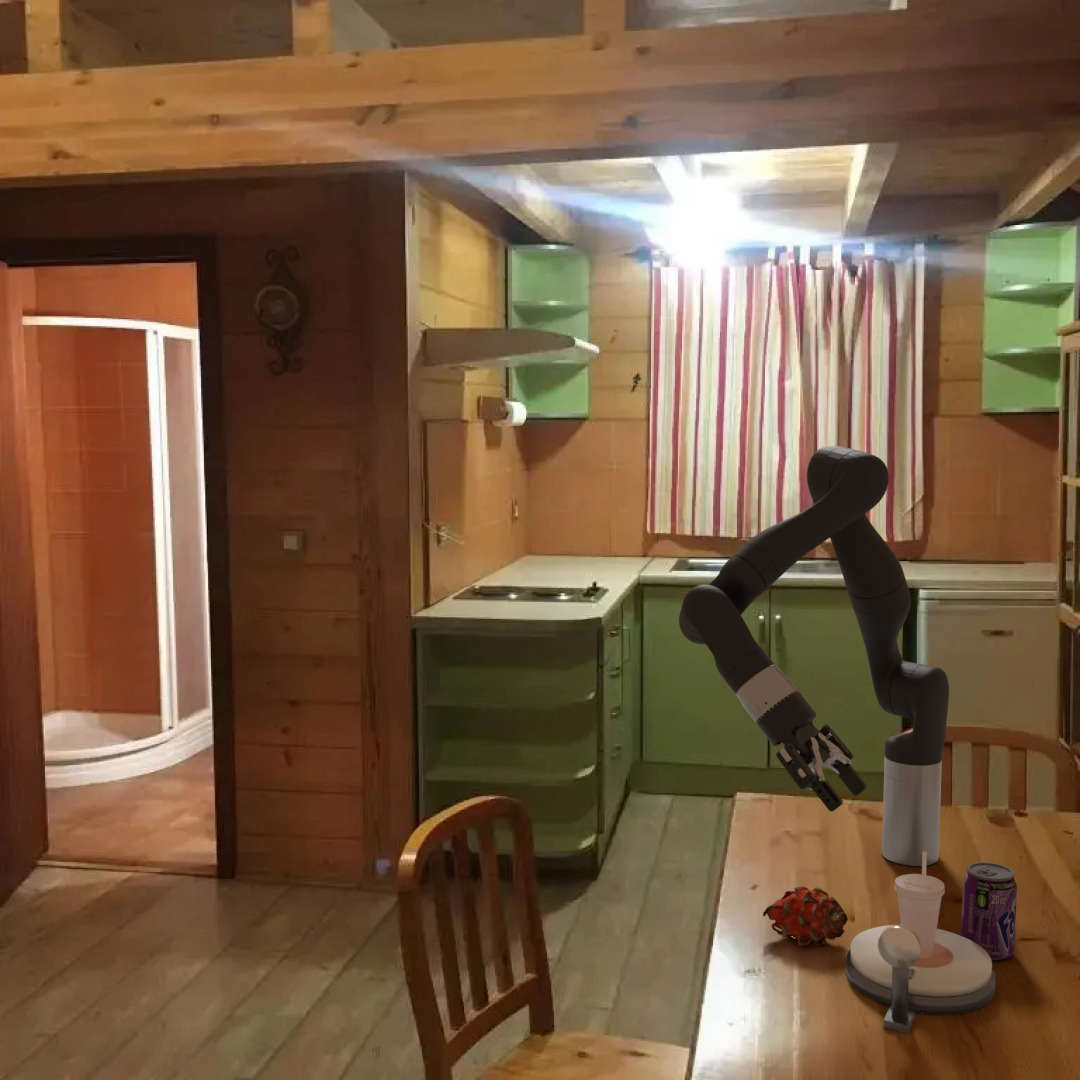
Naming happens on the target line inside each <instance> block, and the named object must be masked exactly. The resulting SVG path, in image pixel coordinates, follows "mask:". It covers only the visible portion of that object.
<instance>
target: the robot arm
mask: <svg viewBox="0 0 1080 1080" xmlns="http://www.w3.org/2000/svg"><path fill="white" fill-rule="evenodd" d="M806 480H807V481H806V482H807V486H808V491H809V494H810V495H811V499H812V500H813V504H812V505H811V506H810V507H808V508H805V510H803V511H801V512H799V513H797V514H795V515H793V516H791V517H788V518H787V519H784V520H782V521H780V522H778V523H776V524H773V525H771V526H769V527H768V528H764V530H762V531H760V532H759V533H757V534H756V535H754V536H753V537H752V538H750V539H749V540H748V541H747V542H746V543H745V544H744V545H743V546H741V547H740V548H739V549H738V550H737V551H736V552H735V553H734V554H733V555H732V556H731V557H730V558H729V559H727V561H726V562H725V563H724V564H723V566H722V567H721V569H720V571H719V573H718V574H717V576H716V577H715V578H714V579H713V580H712V581H711V582H710V583H709V584H699V585H698V584H697V586H694V587H692V588H691V589H690V590H688V591H687V593H686V594H685V595H684V598H683V600H682V603H681V608H680V612H679V615H678V616H679V618H678V624H679V629H680V632H681V633H682V635H683V636H684V637H685V639H687V640H688V641H690V642H692V643H694V644H696V645H697V644H698V645H706V647H707V648H708V650H709V651H710V652H711V654H712V656H713V657H714V662H715V667H716V669H717V671H718V673H719V674H720V676H721V677H722V679H723V680H724V681H725V683H726V684H727V685H728V686H729V688H730V689H731V690H732V691H733V693H735V695H736V697H737V698H738V699H739V701H740V703H741V705H742V706H743V708H744V709H745V711H746V712H747V714H748V715H749V716H750V718H751V719H752V720H753V721H754V722H755V724H756V725H757V727H758V728H759V729H760V731H761V732H762V733H763V735H765V737H766V738H767V740H768V741H769V742H770V744H771V745H772V746H774V747H780V746H782V745H784V746H783V747H782V748H781V749H779V750H778V751H777V752H776V753H775V754H776V758H777V759H778V761H779V762H780V764H782V766H783V767H784V768H785V770H786V771H787V773H788V775H789V776H790V778H792V779H793V781H794V782H795V784H796V785H797V786H798V788H799V789H801V790H805V789H808V790H810V791H813V792H814V793H815V794H816V796H817V797H818V798H819V799H820V801H821V802H822V803H823V805H824V807H826V808H827V809H828V811H829V812H834V811H835V810H836V811H837V809H838V808H840V807H841V806H842V805H843V804H844V801H843V798H841V797H840V796H839V794H838V793H837V791H836V790H835V789H834V787H833V785H831V784H830V782H829V781H828V780H826V778H825V775H824V772H823V768H824V769H825V768H829V769H830V770H832V771H833V772H835V773H836V774H838V775H837V776H838V777H839V779H840V780H841V781H842V782H843V784H844V785H845V786H846V788H847V789H848V790H849V791H850V793H851V794H852V795H853V796H855V797H856V796H859V795H860V794H862V792H864V791H865V790H866V789H867V784H866V783H865V781H864V780H863V779H862V778H861V776H859V774H858V773H857V771H856V770H855V768H854V767H853V766H852V759H854V754H853V753H852V751H851V750H850V749H849V748H848V747H847V745H846V744H845V743H844V742H843V741H842V740H841V738H840V737H839V736H838V735H837V734H836V732H835V731H834V729H832V728H831V726H830V725H829V724H827V723H826V724H824V725H823V726H821V727H820V728H819V729H818V728H817V727H816V726H815V725H814V724H813V721H815V720H816V718H817V713H816V711H815V709H813V708H812V706H811V705H810V704H809V702H808V701H807V700H806V699H805V697H804V696H803V695H802V693H801V692H800V691H799V690H798V688H797V687H796V686H795V685H794V683H793V682H792V681H791V680H790V679H789V677H788V676H787V675H786V674H785V673H784V672H783V671H782V670H781V669H780V668H779V667H778V666H777V665H776V664H775V662H774V661H773V660H772V659H771V657H769V655H768V653H766V651H765V650H764V648H763V647H761V645H760V644H759V642H757V641H756V640H755V638H754V637H753V634H752V632H751V630H750V629H749V626H748V625H747V623H746V622H745V619H744V618H743V616H742V614H743V613H745V611H746V610H747V609H748V608H749V606H750V605H751V604H752V603H753V602H754V601H755V600H756V599H757V598H759V597H760V596H761V595H762V594H763V593H765V592H766V591H767V590H768V589H769V588H770V587H771V586H773V584H774V583H776V581H778V579H779V578H780V577H782V575H784V574H785V573H786V572H787V571H788V570H789V569H791V567H792V566H794V565H795V564H797V562H799V560H801V559H803V558H804V557H805V556H806V555H807V554H808V553H810V552H811V551H813V550H814V549H816V548H818V547H819V546H820V545H821V544H823V543H825V542H826V541H827V540H829V539H830V542H831V545H832V547H833V550H834V554H835V557H836V559H837V563H838V565H839V568H840V571H841V573H842V577H843V580H844V584H845V588H846V591H847V594H848V598H849V600H850V604H851V606H852V609H853V611H854V614H855V617H856V619H857V623H858V627H859V629H860V633H861V634H860V635H861V636H862V637H861V638H862V640H863V644H864V647H865V650H866V655H867V660H868V665H869V670H870V675H871V680H872V685H873V689H874V694H875V697H876V699H877V702H878V704H879V706H880V708H881V709H882V710H883V711H884V712H886V713H887V714H890V715H894V716H897V717H901V718H902V717H903V718H907V719H912V720H913V727H912V731H911V732H907V733H901V734H896V735H892V736H890V737H888V738H887V739H886V741H885V743H884V760H883V762H884V768H883V772H884V773H883V798H882V799H883V802H882V803H883V804H882V805H883V807H882V838H881V839H882V841H881V842H882V843H881V848H882V849H881V855H882V857H883V858H885V859H886V860H888V861H890V862H893V863H894V864H895V863H896V864H898V865H905V866H913V867H918V866H919V867H922V851H927V864H926V866H929V865H933V864H936V863H937V862H938V861H939V857H940V856H939V855H940V854H939V853H940V851H939V850H940V833H941V832H940V831H941V830H940V829H941V799H942V798H941V797H942V767H943V766H942V765H943V750H944V746H945V741H946V735H947V734H946V733H947V719H948V712H949V700H950V684H949V679H948V676H947V673H946V672H945V670H944V669H942V668H941V667H937V666H935V665H929V664H923V663H922V664H921V663H917V662H911V661H906V660H905V659H903V657H902V654H901V653H900V650H899V649H900V648H899V645H898V636H899V633H900V632H901V630H902V628H903V625H904V624H905V622H906V619H907V617H908V615H909V612H910V609H911V599H912V597H911V593H910V589H909V586H908V583H907V580H906V576H905V572H904V569H903V567H902V564H901V562H900V560H899V558H898V557H897V556H896V554H895V553H894V551H893V550H892V548H891V547H890V546H889V544H888V543H887V542H886V541H885V540H884V539H883V537H882V536H881V534H880V533H879V532H878V531H877V530H876V528H875V527H874V525H873V524H872V523H871V521H870V519H869V518H868V515H867V513H868V512H870V511H872V509H874V507H876V506H877V505H878V504H879V503H880V501H882V499H883V498H884V496H885V494H886V492H887V490H888V486H889V480H890V475H889V470H888V466H887V464H886V463H885V462H884V461H883V460H882V459H881V458H880V457H878V456H876V455H875V454H871V453H868V452H866V451H861V450H857V449H854V448H849V447H844V446H839V445H827V446H822V447H821V448H819V449H817V450H816V451H815V452H814V453H813V454H812V456H811V458H810V460H809V462H808V465H807V472H806ZM802 777H803V778H802Z"/></svg>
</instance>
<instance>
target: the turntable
mask: <svg viewBox="0 0 1080 1080" xmlns="http://www.w3.org/2000/svg"><path fill="white" fill-rule="evenodd" d="M894 925H895V924H888V925H881V926H875V927H872V928H869V929H868V928H867V929H866V930H864V931H861V932H860V933H858V934H857V935H855V936H854V937H853V939H852V940H851V942H850V949H851V951H850V959H851V962H852V964H853V966H854V967H855V969H856V970H857V971H858V972H859V973H860V974H862V975H863V976H865V977H866V978H868V979H869V980H871V981H873V982H875V983H877V984H879V985H882V986H885V987H887V988H890V989H892V966H891V965H890V964H888V963H887V962H886V961H885V960H884V959H883V958H882V957H881V955H880V953H879V950H878V940H879V937H880V935H881V934H882V932H883V931H884V930H885V929H886V928H888V927H890V926H894ZM899 925H900V926H901V924H899ZM992 968H993V960H991V958H990V956H989V954H988V953H987V952H986V951H985V950H984V949H983V948H982V947H981V946H979V945H978V944H976V943H974V942H973V941H971V940H969V939H967V938H965V937H962V936H961V934H960V935H959V934H957V933H954V932H951V931H948V930H944V929H940V928H937V930H936V937H935V943H934V949H933V955H932V956H931V957H929V958H924V959H920V958H918V960H917V962H916V963H915V964H914V965H912V966H911V967H909V991H908V993H910V994H915V995H923V996H942V997H945V996H957V995H964V994H968V993H972V992H975V991H977V990H979V989H981V988H983V987H984V986H986V985H987V984H988V983H989V981H990V979H991V975H992Z"/></svg>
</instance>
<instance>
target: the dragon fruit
mask: <svg viewBox="0 0 1080 1080" xmlns="http://www.w3.org/2000/svg"><path fill="white" fill-rule="evenodd" d="M766 915H767V916H768V919H769V920H770V921H775V922H773V923H771V924H770V927H771V928H772V929H771V930H773V931H774V932H775V933H777V935H779V936H783V937H784V936H789V937H790V936H793V937H795V938H796V939H795V940H797V944H798V946H799V947H801V946H802V947H804V946H809V945H810V943H811V942H813V943H814V944H815V946H821V945H825V944H827V943H826V942H827V940H830V941H833V940H836V938H841V937H842V936H843V935H844V933H845V932H846V931H845V930H844V926H845V925H846V924H847V922H848V920H849V918H848V916H847V913H845V910H844V909H843V908H842V905H841V904H840V903H839V901H837V899H836V898H835V897H833V896H829V893H827V892H826V891H825V890H823V889H822V888H821V887H814V889H812V890H811V889H809V888H808V887H806V886H797V887H794V890H786V891H785V892H784V895H783V896H781V898H780V899H777V900H776V901H774V903H772V904H770V905H768V906H767V907H766V909H764V911H763V912H762V917H763V918H765V917H766ZM824 943H825V944H824Z"/></svg>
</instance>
